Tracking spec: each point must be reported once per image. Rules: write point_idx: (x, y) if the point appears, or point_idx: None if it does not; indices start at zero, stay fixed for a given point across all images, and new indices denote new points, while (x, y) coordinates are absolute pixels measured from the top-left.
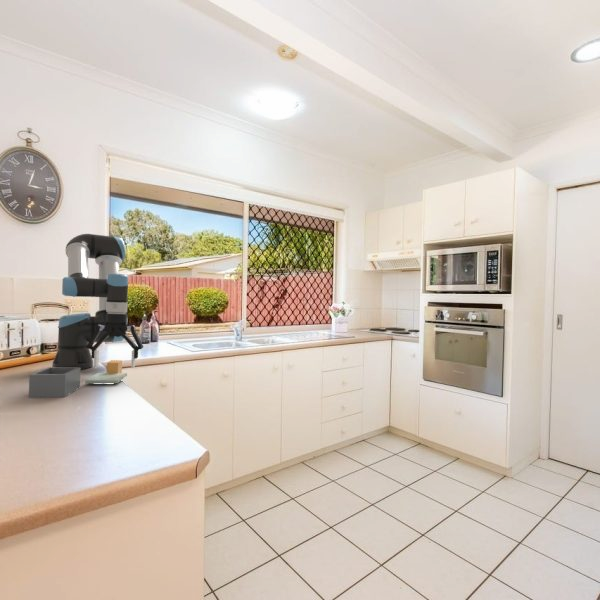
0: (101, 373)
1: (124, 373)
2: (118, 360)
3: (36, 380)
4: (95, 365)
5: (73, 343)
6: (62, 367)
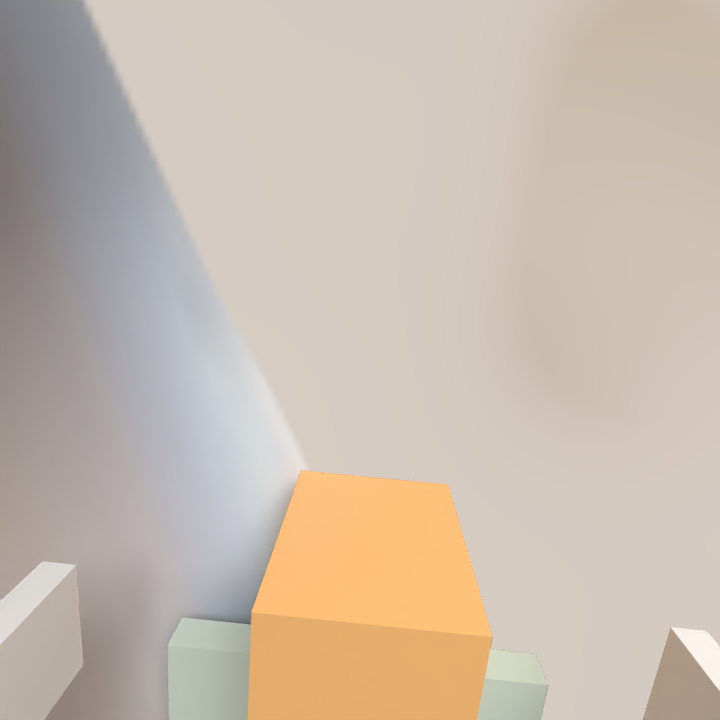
0: (225, 678)
1: (516, 713)
2: (413, 647)
3: None
4: (54, 693)
5: None
6: None
